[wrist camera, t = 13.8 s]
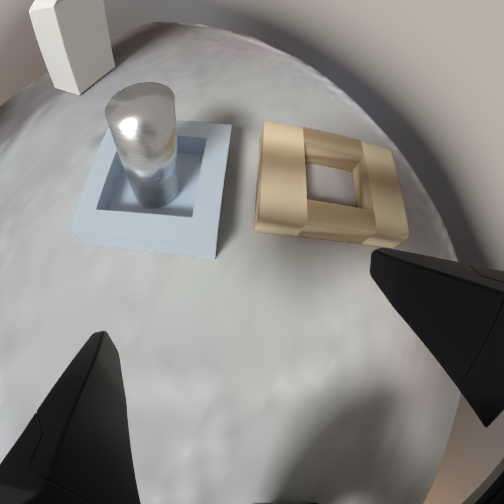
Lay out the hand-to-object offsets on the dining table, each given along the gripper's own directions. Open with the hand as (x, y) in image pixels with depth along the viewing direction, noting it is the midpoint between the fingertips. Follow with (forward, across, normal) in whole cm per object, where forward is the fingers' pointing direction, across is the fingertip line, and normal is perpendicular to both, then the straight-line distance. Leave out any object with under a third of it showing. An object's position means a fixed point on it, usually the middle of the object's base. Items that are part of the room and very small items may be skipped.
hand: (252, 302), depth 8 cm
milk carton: (+36, +11, -17) cm, 42 cm away
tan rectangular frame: (+16, -13, +3) cm, 21 cm away
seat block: (+19, +2, 0) cm, 19 cm away
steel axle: (+19, +3, 0) cm, 19 cm away
